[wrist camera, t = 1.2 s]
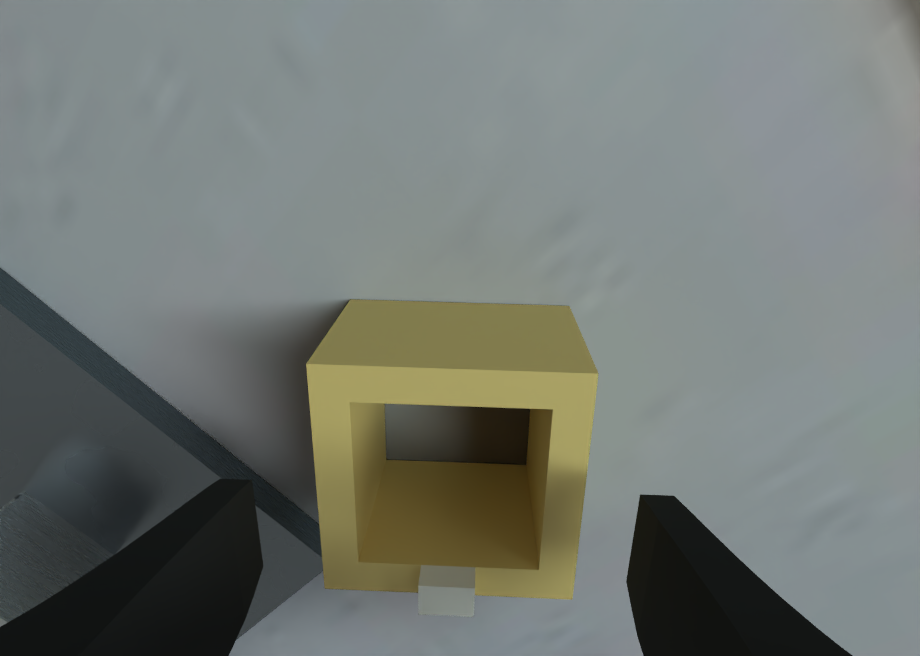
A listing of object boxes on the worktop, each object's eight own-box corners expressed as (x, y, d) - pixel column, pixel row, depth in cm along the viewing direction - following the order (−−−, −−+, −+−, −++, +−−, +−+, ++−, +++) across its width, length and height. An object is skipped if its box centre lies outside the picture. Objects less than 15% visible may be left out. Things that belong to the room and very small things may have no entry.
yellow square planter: (568, 305, 15) (604, 387, 10) (552, 489, 17) (576, 621, 12) (350, 299, 15) (296, 377, 11) (359, 482, 17) (317, 609, 13)
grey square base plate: (338, 540, 18) (300, 656, 14) (118, 719, 21) (39, 851, 17) (-8, 261, 15) (-173, 313, 11) (-200, 517, 18) (-377, 624, 14)
